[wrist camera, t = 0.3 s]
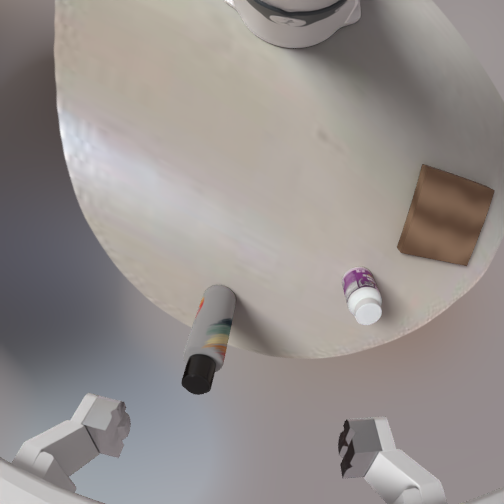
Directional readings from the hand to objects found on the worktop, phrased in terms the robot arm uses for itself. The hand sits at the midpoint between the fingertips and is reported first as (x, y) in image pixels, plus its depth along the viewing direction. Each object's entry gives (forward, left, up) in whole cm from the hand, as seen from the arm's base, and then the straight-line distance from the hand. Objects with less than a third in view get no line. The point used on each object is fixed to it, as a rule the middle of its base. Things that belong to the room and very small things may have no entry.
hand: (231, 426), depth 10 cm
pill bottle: (+15, +17, -39) cm, 46 cm away
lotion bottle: (+23, -5, -39) cm, 46 cm away
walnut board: (+1, +29, -39) cm, 49 cm away
